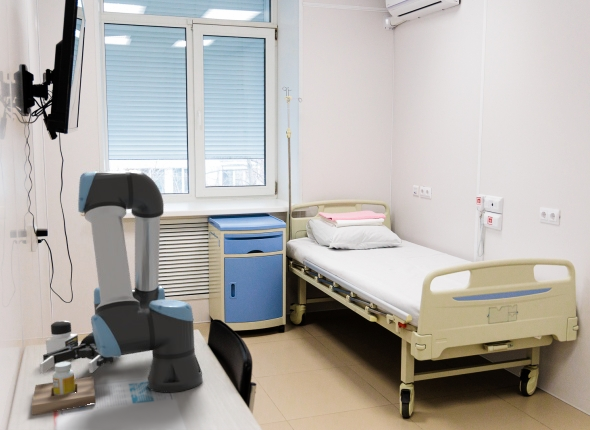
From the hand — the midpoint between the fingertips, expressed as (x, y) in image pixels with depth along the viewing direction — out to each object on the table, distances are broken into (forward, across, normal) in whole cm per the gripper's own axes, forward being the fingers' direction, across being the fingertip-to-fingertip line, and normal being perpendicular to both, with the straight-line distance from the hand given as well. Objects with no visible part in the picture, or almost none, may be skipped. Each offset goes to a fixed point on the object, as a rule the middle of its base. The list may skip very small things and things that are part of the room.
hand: (65, 368), depth 160 cm
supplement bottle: (+2, 0, -8) cm, 8 cm away
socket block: (+3, 0, -8) cm, 8 cm away
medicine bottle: (-31, +16, -8) cm, 36 cm away
